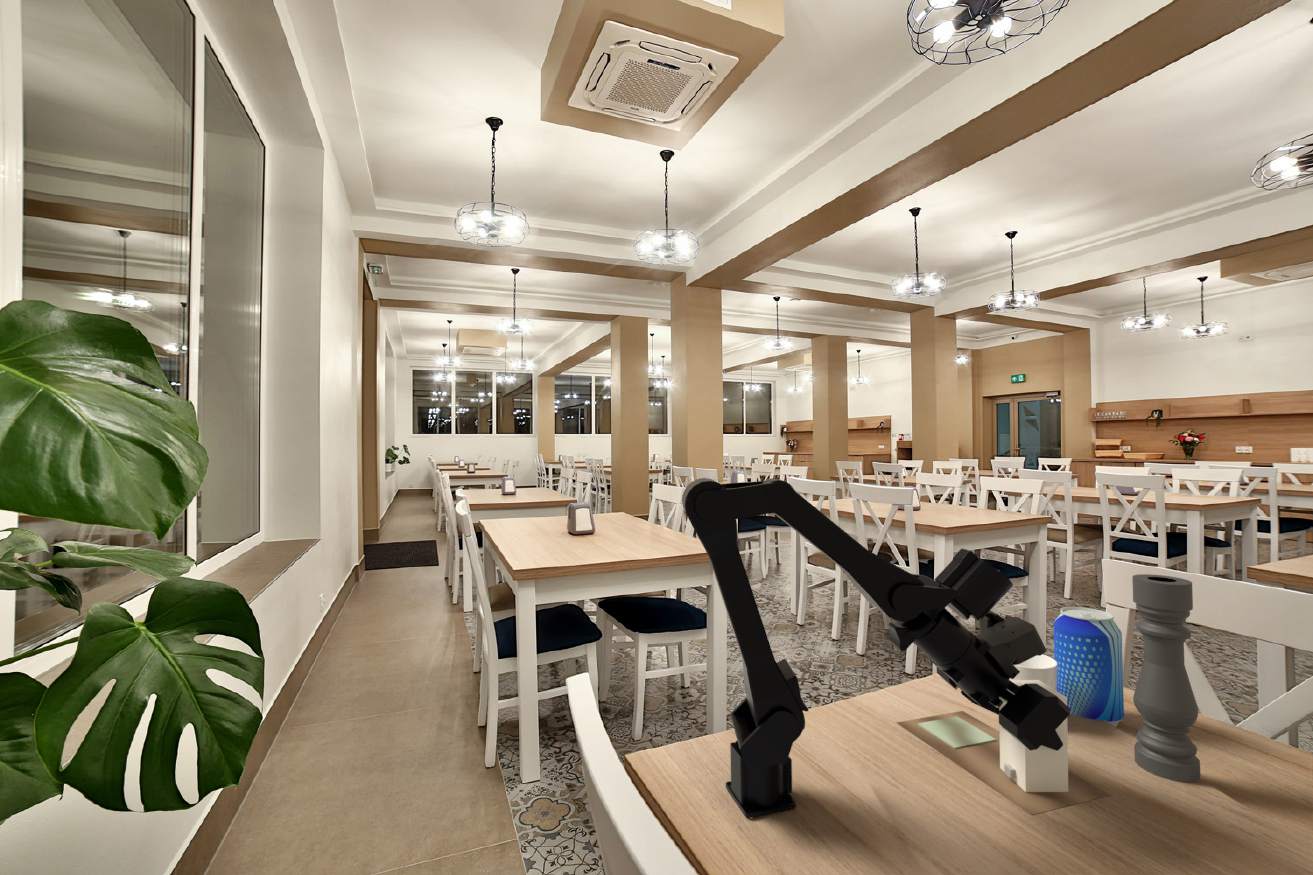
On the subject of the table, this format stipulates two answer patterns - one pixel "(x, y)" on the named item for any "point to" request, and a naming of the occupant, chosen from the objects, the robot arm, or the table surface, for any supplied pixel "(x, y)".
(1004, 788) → the board
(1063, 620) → the beer can
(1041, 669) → the white cup
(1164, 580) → the candle holder
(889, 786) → the table surface
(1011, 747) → the tall white prism
